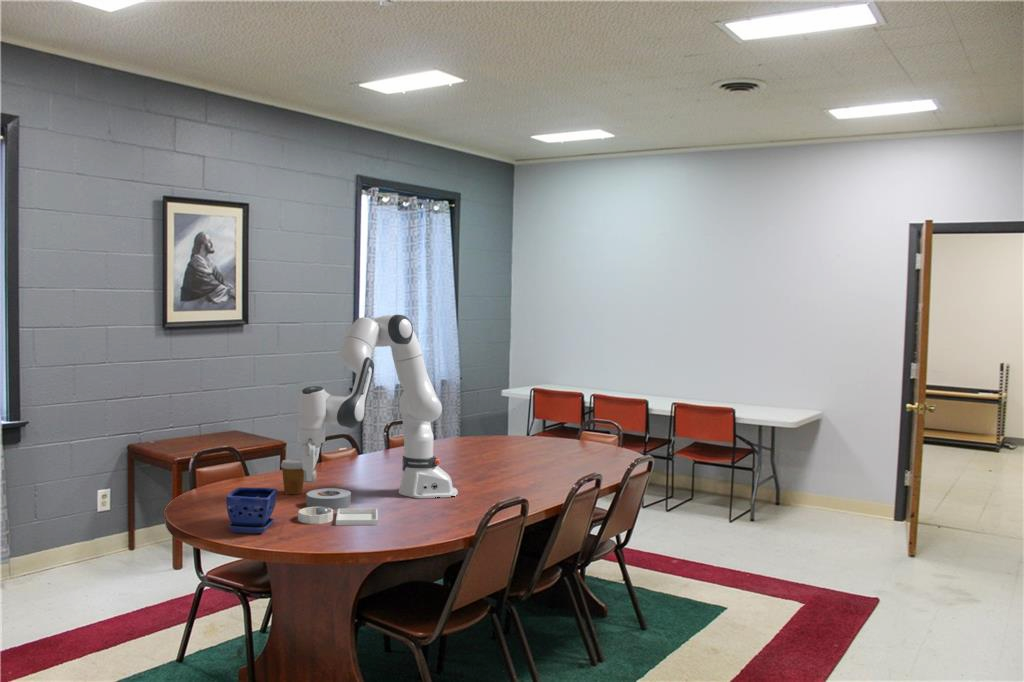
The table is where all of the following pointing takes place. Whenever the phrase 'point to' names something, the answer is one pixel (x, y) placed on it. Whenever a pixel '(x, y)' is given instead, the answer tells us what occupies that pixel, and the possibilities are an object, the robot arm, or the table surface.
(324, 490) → the tape roll
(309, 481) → the pebble
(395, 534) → the table surface
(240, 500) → the flower pot
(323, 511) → the pebble
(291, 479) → the disposable coffee cup
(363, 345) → the robot arm
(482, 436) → the table surface
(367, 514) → the tray
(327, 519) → the bowl
